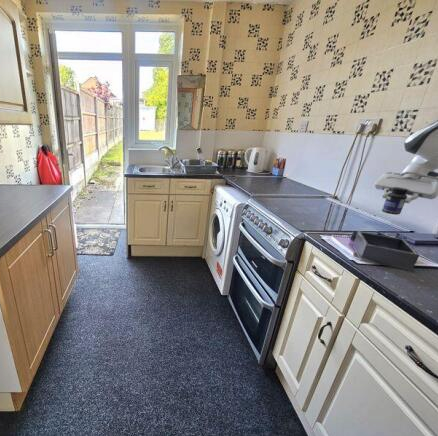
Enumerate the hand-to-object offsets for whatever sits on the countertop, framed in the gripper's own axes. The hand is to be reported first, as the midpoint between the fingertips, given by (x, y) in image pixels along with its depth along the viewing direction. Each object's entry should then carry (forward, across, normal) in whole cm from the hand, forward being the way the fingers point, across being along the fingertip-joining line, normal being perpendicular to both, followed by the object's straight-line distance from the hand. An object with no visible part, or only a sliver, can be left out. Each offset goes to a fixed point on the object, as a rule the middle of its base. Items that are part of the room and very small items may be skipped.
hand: (395, 199), depth 107 cm
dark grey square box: (+33, +12, -10) cm, 36 cm away
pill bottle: (+4, 0, +5) cm, 6 cm away
